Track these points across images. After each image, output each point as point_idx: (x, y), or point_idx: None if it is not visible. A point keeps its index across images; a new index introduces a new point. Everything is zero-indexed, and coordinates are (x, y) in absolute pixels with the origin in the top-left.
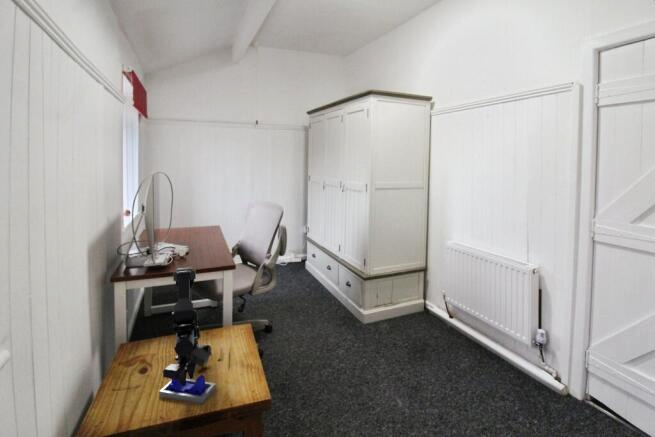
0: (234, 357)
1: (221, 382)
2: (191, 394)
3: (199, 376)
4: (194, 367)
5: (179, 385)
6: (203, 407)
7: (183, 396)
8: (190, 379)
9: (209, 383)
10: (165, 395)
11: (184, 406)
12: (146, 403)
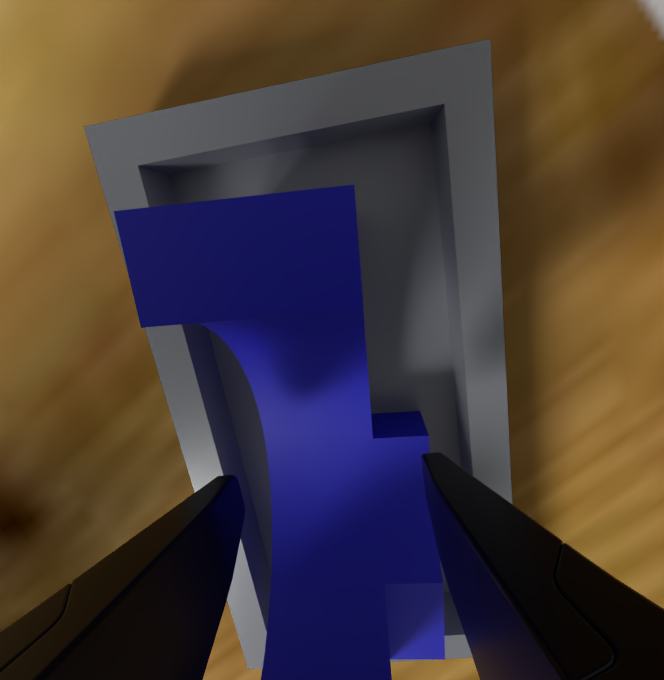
0: None
1: (8, 167)
2: (375, 333)
3: (213, 318)
4: (57, 657)
5: (383, 539)
6: (519, 4)
7: (499, 367)
8: None
9: None
10: None
11: (567, 268)
12: None
